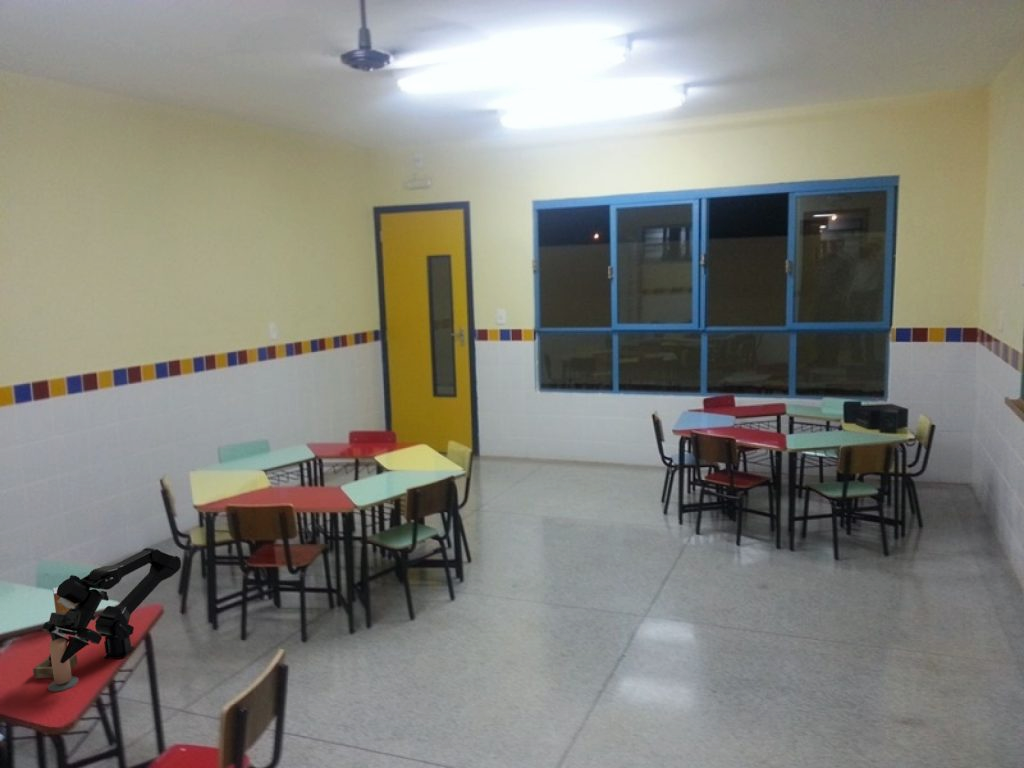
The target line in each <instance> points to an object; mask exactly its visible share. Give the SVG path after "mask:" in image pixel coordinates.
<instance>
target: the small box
mask: <svg viewBox="0 0 1024 768" xmlns="http://www.w3.org/2000/svg"><path fill="white" fill-rule="evenodd" d="M58 587H59V586H57V587H52V592H53V593H52V594H53V600H54V601H53V602H54V610H55V613H67V612H68V611H69V609H71V608H72V609H74V608H75V606H76V604H73V603H71V602H69V601H67V600H65V599H63V598H61V597H59V596H58V595H57V589H58Z"/></svg>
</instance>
